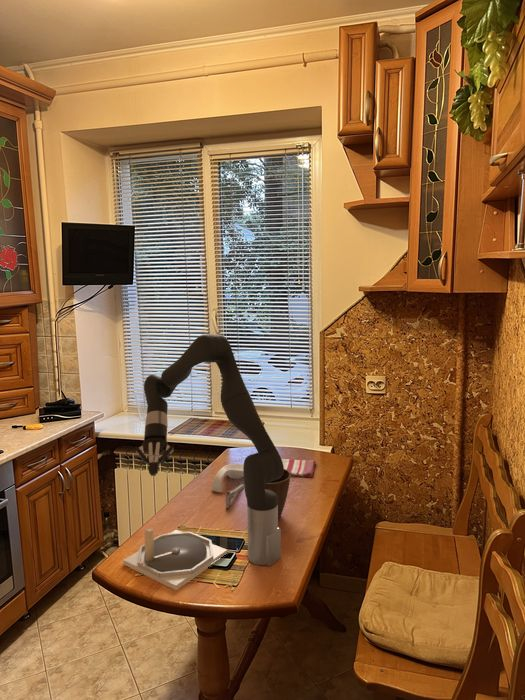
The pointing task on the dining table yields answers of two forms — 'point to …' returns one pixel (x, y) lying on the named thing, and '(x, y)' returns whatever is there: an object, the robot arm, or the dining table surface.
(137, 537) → the dining table surface
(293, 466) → the dish towel
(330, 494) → the dining table surface
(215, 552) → the dial plate
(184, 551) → the dial
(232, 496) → the caliper
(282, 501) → the plant pot
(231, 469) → the spoon rest
